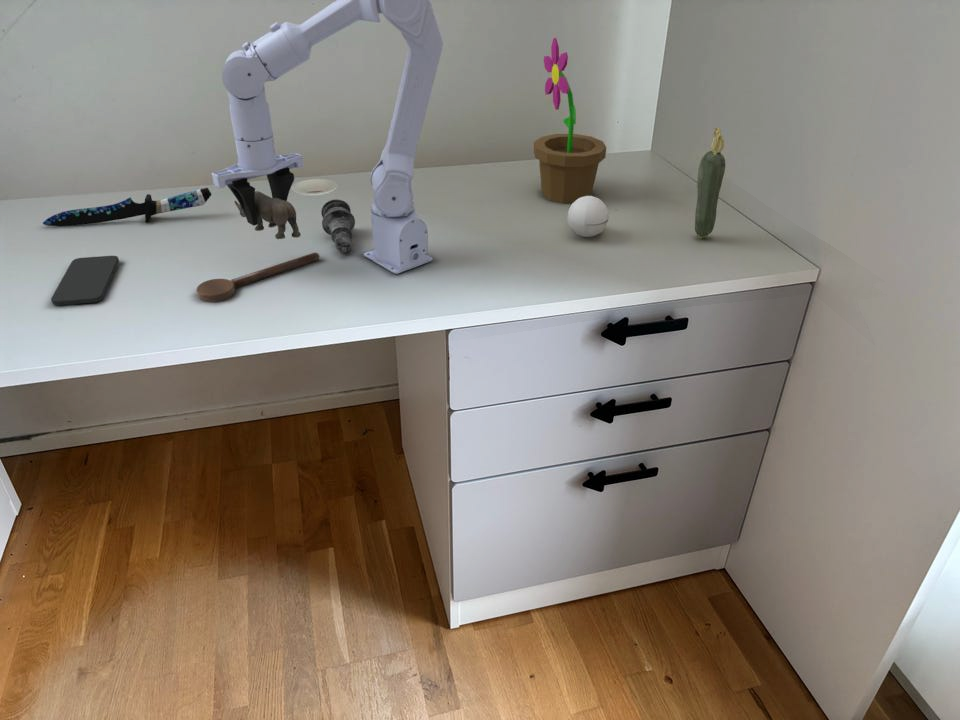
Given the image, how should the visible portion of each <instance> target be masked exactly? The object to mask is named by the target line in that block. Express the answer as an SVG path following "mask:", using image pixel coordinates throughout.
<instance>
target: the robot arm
mask: <svg viewBox="0 0 960 720" xmlns="http://www.w3.org/2000/svg"><path fill="white" fill-rule="evenodd" d="M379 14H382V16H383V17H384V18H385V19H386V20H387V22H389V23H390V24H391V25H392V26H393V27H394V28H396V29H397V30H398V31H399V32H400V33H401V35H402V37H403V38H404V41H405V42H406V44H407V45H408V49H407V52H406V58H405V62H404V66H403V70H402V75H401V79H400V83H399V86H398V87H399V88H398V92H397V96H396V100H395V106H394V109H393V113H392V118H391V121H390V127H389V130H388V135H387V139H386V142H385V146H384V147H383V150H382V151H381V156H380V159H379V161H378V163H377V164H376V165H375V166H374V167H373V169H372V170H371V173H370V179H369V180H370V185H371V188H372V192H373V201H372V203H371V204H370V219H371V230H372V242H373V243H372V244H373V249H371V250H368V251H366V252H364V253H363V257H365V258H367V259H369V260H370V261H372V262H373V263H375V264H376V265H377V264H378V265H379V266H381V267H382V268H384V269H386V270H387V271H389V272H391V273H393V274H395V275H397V274H401V273H403V272H406V271H408V270H412V269H414V268H417V267H420V266H422V265H426V264H427V263H430V262H432V261H433V257H432V256H430V255H429V236H428V235H429V234H428V227H427V224H426V223H425V222H424V220H422V219H421V218H420V217H419V216H418V214H417V212H416V209H415V203H414V193H413V188H412V183H413V178H414V172H415V171H414V169H415V168H414V167H415V156H416V153H417V149H418V145H419V142H420V138H421V133H422V129H423V126H424V121H425V117H426V113H427V110H428V106H429V102H430V99H431V98H430V97H431V94H432V90H433V87H434V82H435V78H436V75H437V70H438V66H439V62H440V60H441V59H440V58H441V55H442V51H443V44H444V43H443V38H442V35H441V32H440V29H439V26H438V23H437V19H436V17H435V13H434V10H433V5H432V2H431V0H334V1H333V2H332V3H330V4H329V5H327V6H326V7H324V8H323V9H321V10H320V11H318V12H317V13H315V14H314V15H312V16H310V18H308V19H306V20H305V21H303V22H302V23H301V24H298V23H297V24H296V23H293V22H289V21H285V22H283V23H281V24H280V23H279V22H278V21H276V22H274V23H272V24H271V25H270V26H269V30H270V31H269V32H267V33H266V34H264V35H263V36H261V37H259V38H258V39H256V40H254V41H253V42H250V41H246V42H244V43H243V44H242V46H241V47H242V49H239V50H238V49H237V50H235V51H233V52H232V53H230V54H229V56H228V57H227V58H226V60H225V63H224V65H223V68H222V71H221V81H222V84H223V87H224V88H225V89H226V91H227V99H228V102H229V107H228V109H229V114H230V120H231V126H232V133H233V137H234V143H235V149H236V155H237V161H238V162H237V163H234V164H232V165H230V166H227V167H225V168H223V169H221V170H218V171H214V172H211V177H212V182H213V185H214V186H215V187H216V188H217V189H223V188H226V186H227V187H228V189H229V190H230V192H231V193H232V194H233V195H234V197H235V199H236V201H237V203H238V204H240V205H241V207H242V209H243V211H244V214H245V216H246V217H245V218H246V222H247V223H248V224H250V225H251V226H253V227H254V226H255V227H256V226H257V215H256V209H255V192H256V188H255V187H254V186H252V185H251V184H250V181H248V180H252V179H255V178H260V177H264V176H266V178H267V181H268V185H269V188H270V192H271V198H278V199H280V200H284V201H287V202H288V198H289V194H290V191H291V189H292V186H293V184H294V181H295V174H294V173H293V172H292V171H290V170H291V169H295V168H296V169H301V168H304V162H303V161H304V160H303V155H302V154H299V153H297V152H293V153H292V152H291V153H287V154H279V155H278V154H276V147H275V139H274V133H273V132H274V131H273V127H272V120H271V119H272V118H271V112H270V106H269V105H270V104H269V103H268V101H267V94H266V89H265V84H266V83H267V82H274V81H276V80H277V79H279V78H281V77H282V76H284V75H285V74H287V73H289V72H290V71H292V70H294V69H295V68H297V67H298V66H300V65H302V64H304V63H305V62H307V61H308V60H309V59H310V58H311V51H312V47H313V46H315V45H317V44H319V43H320V42H322V41H324V40H326V39H327V38H329V37H331V36H333V35H335V34H336V33H339V32H341V31H342V30H344V29H345V28H347V27H349V26H350V25H352V24H355V23H356V22H359V21H366V22H372V23H374V22H375V23H380V22H381V18H380V15H379Z"/></svg>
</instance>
